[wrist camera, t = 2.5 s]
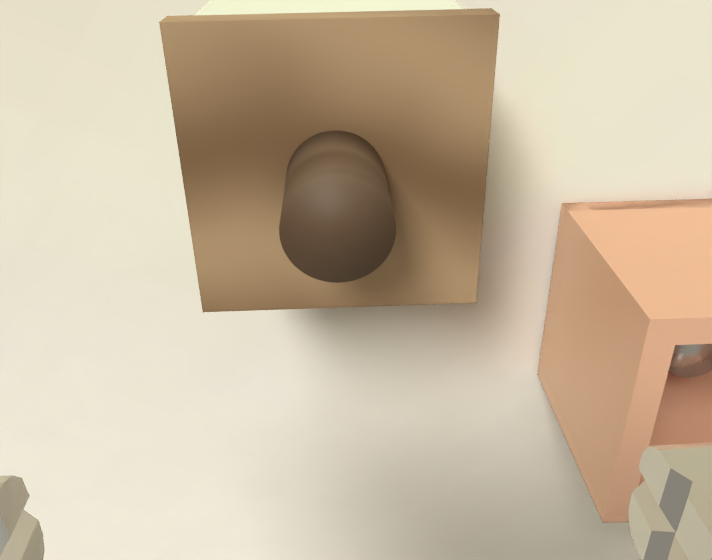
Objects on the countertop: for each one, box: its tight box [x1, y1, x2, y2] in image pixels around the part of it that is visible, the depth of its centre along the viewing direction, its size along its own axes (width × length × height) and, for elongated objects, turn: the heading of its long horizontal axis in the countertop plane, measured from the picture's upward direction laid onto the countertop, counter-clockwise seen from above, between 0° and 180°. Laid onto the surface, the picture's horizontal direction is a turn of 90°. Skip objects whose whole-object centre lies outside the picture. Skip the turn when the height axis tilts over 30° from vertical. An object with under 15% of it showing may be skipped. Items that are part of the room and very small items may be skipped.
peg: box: [669, 344, 712, 378], centre depth 29 cm, size 2×2×4 cm
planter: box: [538, 199, 712, 523], centre depth 27 cm, size 9×9×9 cm
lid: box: [159, 8, 500, 312], centre depth 18 cm, size 9×9×4 cm
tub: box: [195, 0, 465, 15], centre depth 23 cm, size 8×8×7 cm
